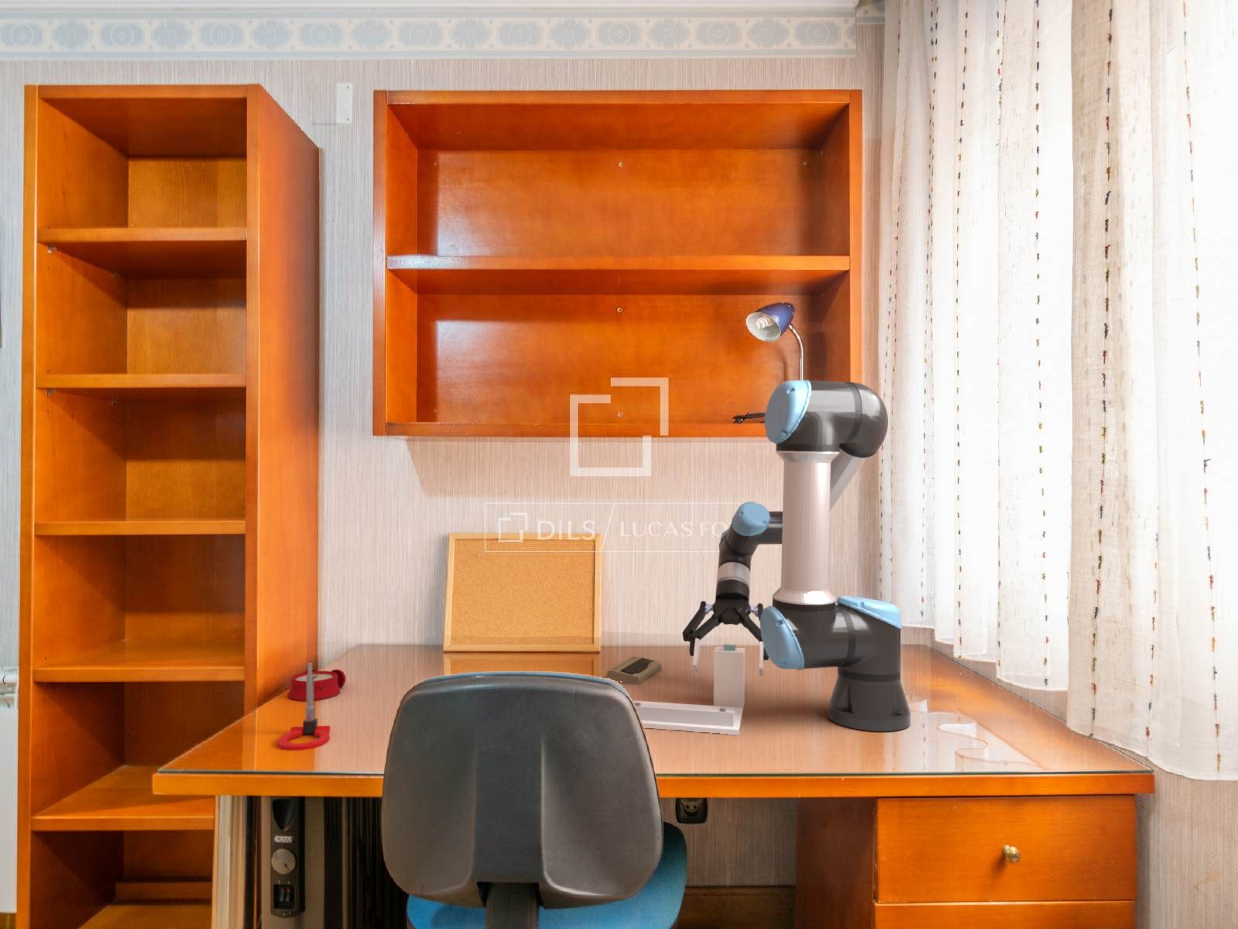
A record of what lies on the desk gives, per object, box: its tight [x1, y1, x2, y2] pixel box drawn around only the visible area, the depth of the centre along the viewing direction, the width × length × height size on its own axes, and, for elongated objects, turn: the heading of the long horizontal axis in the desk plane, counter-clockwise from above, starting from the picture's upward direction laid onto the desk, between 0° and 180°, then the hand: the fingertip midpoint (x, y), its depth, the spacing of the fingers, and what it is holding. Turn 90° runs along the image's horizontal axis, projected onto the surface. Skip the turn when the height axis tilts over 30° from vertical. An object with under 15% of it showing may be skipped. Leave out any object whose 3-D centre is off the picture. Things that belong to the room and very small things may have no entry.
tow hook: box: [277, 662, 331, 751], centre depth 137 cm, size 8×13×9 cm
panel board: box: [633, 700, 744, 736], centre depth 150 cm, size 22×14×4 cm, turn 78°
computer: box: [605, 655, 663, 685], centre depth 184 cm, size 16×8×3 cm, turn 157°
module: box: [713, 643, 746, 709], centre depth 162 cm, size 6×5×12 cm
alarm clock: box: [285, 668, 347, 703], centre depth 168 cm, size 10×6×15 cm
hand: (727, 670), depth 162 cm, fingers open, 13 cm apart
